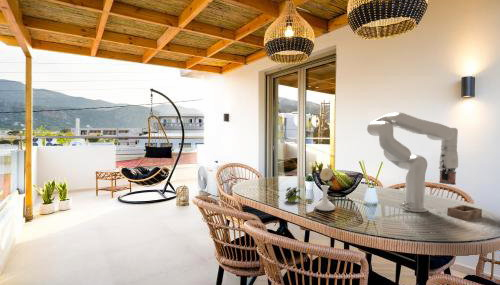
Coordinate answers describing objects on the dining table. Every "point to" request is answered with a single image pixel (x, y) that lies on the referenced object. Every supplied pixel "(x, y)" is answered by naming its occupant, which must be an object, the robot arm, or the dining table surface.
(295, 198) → the green leafy plant
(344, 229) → the dining table surface
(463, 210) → the lighter dock
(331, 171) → the flower in vase
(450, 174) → the lighter
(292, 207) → the dining table surface
